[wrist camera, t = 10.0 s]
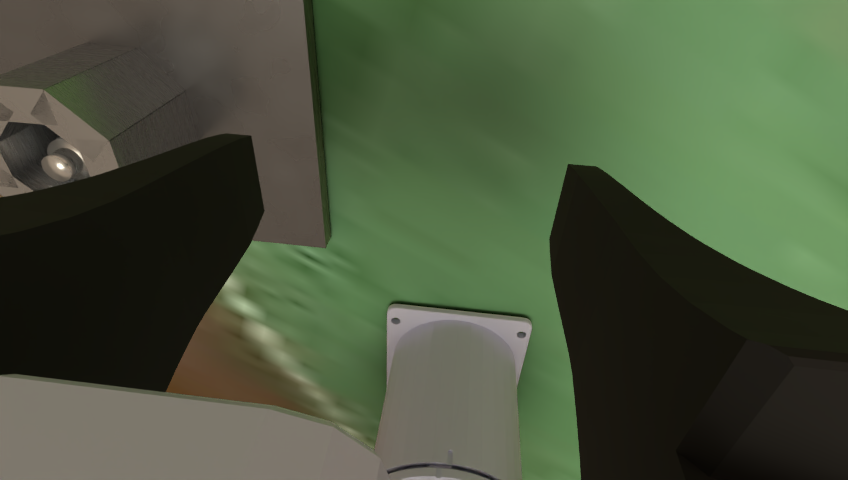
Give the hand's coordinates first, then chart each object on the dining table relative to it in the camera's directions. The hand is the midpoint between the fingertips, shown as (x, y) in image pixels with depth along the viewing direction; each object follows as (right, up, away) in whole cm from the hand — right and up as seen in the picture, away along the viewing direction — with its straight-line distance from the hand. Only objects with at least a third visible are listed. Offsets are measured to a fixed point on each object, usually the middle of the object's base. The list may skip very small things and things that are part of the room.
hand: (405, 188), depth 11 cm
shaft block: (-12, +5, +11) cm, 17 cm away
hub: (-12, +4, +10) cm, 16 cm away
